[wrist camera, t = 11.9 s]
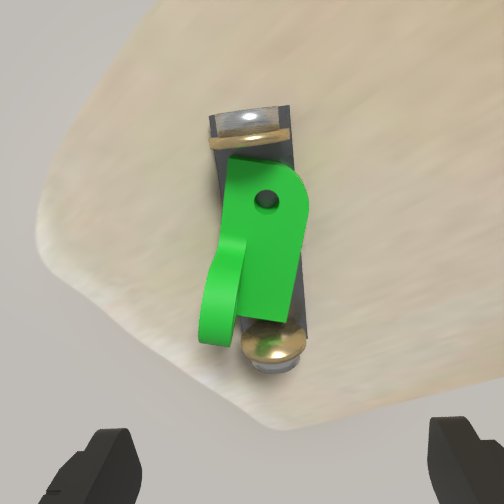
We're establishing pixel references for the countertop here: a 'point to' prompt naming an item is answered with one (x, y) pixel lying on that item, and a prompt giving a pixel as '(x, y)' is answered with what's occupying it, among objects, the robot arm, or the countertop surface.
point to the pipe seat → (274, 149)
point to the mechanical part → (254, 248)
